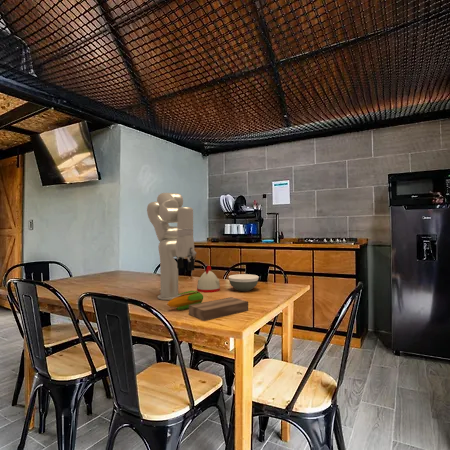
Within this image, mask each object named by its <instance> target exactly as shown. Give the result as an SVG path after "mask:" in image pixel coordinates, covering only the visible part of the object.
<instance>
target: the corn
mask: <svg viewBox="0 0 450 450" xmlns="http://www.w3.org/2000/svg"><path fill="white" fill-rule="evenodd" d="M180 294H181V296H178V297H176V298H173V299H172V300H168V302H167V304H166V305H167V306H168V307H170V308H176V310H179V311H180V310H189V305H192V304H198V303H203V300H204V295H203V293H202V292H198V291H197V290H188V291H185V292H181V293H178V295H180Z"/></svg>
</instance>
